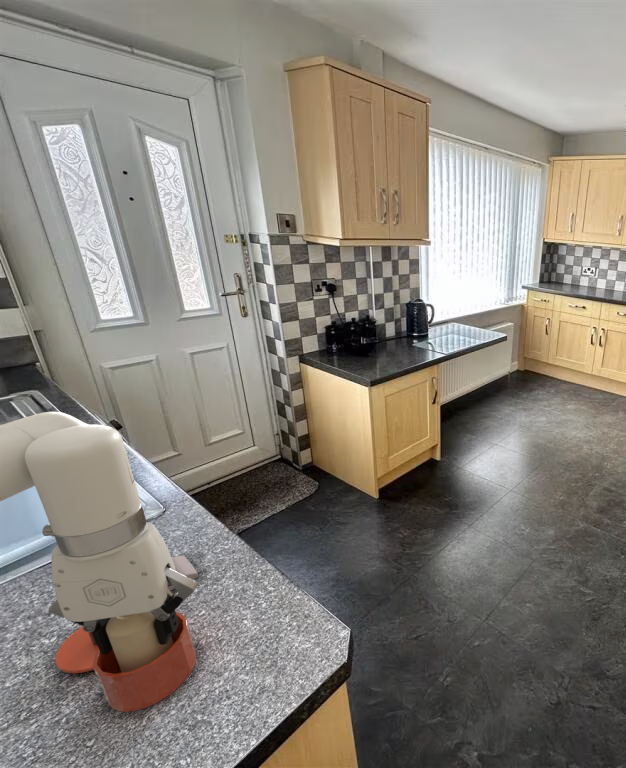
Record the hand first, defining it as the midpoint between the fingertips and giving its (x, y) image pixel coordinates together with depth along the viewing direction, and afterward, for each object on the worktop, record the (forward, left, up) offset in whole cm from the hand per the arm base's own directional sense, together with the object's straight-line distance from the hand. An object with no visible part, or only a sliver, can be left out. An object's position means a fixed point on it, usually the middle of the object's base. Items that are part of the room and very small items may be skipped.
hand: (140, 638), depth 55 cm
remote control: (-8, +17, -7) cm, 20 cm away
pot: (0, 0, -7) cm, 7 cm away
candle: (0, 0, -5) cm, 5 cm away
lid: (-9, +7, -6) cm, 13 cm away
